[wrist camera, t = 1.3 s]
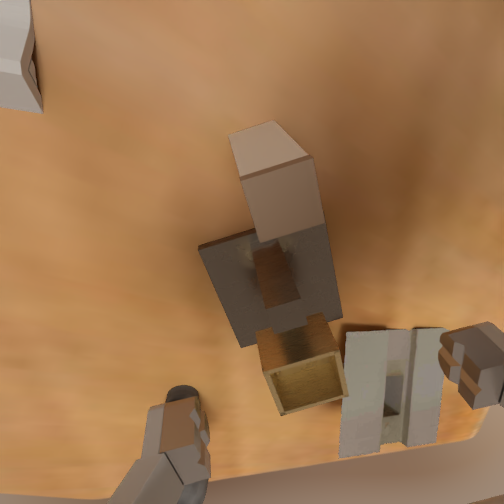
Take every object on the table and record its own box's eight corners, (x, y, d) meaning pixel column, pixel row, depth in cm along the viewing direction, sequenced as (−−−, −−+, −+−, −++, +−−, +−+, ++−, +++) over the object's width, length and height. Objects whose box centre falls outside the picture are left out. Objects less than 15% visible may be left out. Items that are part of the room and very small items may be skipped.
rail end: (274, 119, 32) (313, 158, 21) (285, 165, 34) (325, 222, 23) (227, 134, 32) (240, 181, 21) (241, 179, 34) (260, 243, 23)
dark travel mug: (209, 408, 52) (212, 582, 35) (160, 413, 51) (140, 594, 34) (206, 376, 48) (208, 554, 31) (153, 381, 48) (127, 567, 31)
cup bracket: (320, 207, 37) (371, 276, 26) (340, 312, 45) (384, 398, 34) (198, 245, 37) (196, 329, 26) (240, 342, 46) (252, 436, 35)
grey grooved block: (305, 327, 52) (309, 446, 49) (344, 330, 43) (352, 476, 40) (399, 325, 59) (408, 430, 56) (450, 327, 50) (464, 452, 47)
